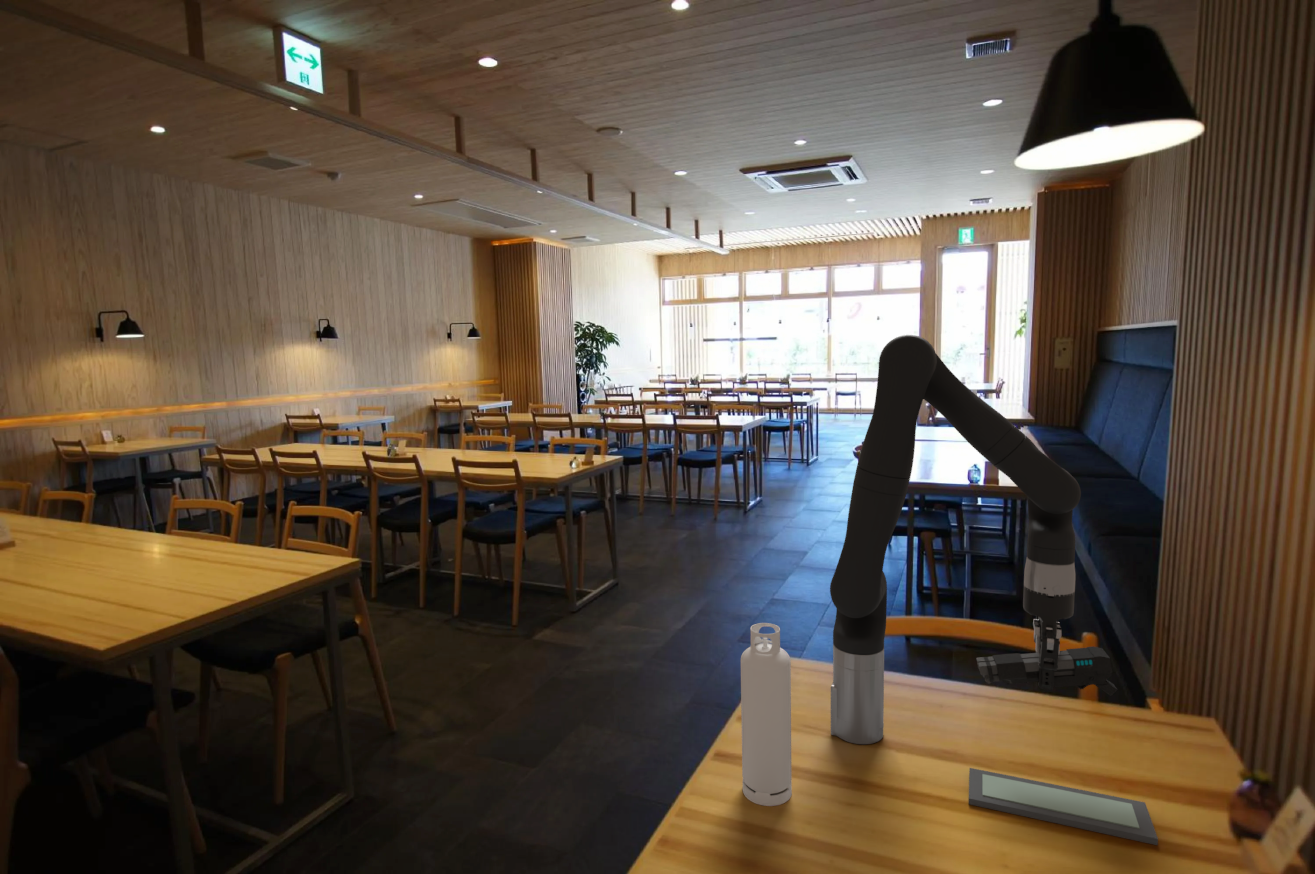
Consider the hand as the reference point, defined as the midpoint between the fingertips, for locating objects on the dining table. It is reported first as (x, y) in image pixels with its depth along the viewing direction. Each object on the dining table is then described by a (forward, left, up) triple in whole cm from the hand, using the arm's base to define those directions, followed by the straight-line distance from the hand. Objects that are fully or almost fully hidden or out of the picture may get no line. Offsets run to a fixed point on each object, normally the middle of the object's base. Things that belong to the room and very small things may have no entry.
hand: (1044, 681), depth 121 cm
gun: (0, 0, -1) cm, 1 cm away
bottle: (-42, -25, -15) cm, 51 cm away
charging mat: (+1, -12, -15) cm, 19 cm away
